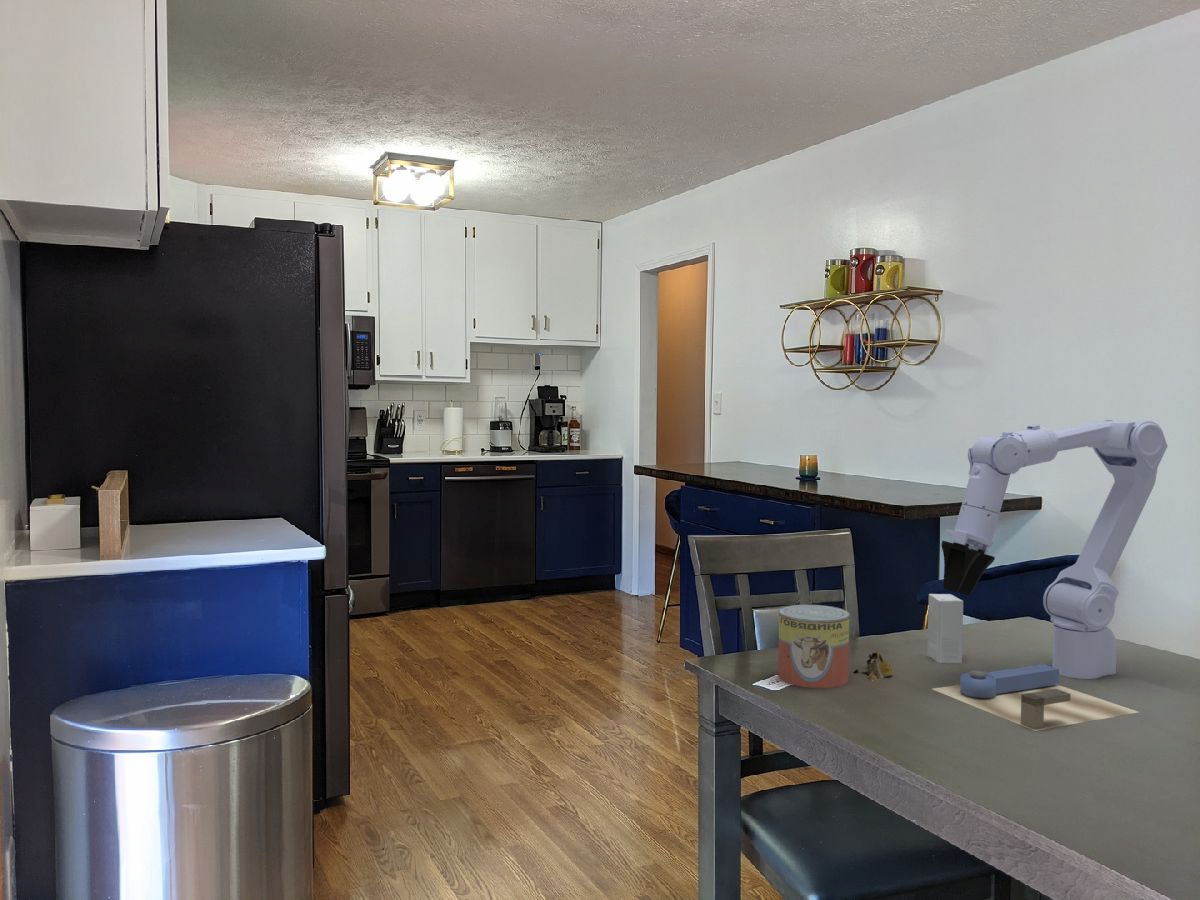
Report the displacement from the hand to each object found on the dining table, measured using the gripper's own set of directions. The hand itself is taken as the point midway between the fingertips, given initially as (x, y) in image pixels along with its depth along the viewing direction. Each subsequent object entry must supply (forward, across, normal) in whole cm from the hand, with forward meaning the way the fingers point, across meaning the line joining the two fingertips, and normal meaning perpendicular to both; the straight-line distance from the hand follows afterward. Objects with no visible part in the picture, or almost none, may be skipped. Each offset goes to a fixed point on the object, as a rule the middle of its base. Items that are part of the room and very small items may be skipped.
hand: (956, 592), depth 147 cm
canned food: (+21, +7, -16) cm, 27 cm away
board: (+13, -1, +14) cm, 20 cm away
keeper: (+15, +8, +18) cm, 25 cm away
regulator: (+19, +1, -9) cm, 21 cm away
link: (+12, -4, +10) cm, 16 cm away
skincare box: (+13, -17, -3) cm, 22 cm away
